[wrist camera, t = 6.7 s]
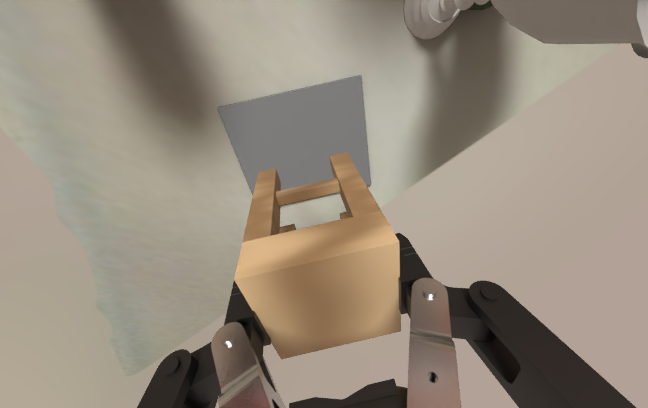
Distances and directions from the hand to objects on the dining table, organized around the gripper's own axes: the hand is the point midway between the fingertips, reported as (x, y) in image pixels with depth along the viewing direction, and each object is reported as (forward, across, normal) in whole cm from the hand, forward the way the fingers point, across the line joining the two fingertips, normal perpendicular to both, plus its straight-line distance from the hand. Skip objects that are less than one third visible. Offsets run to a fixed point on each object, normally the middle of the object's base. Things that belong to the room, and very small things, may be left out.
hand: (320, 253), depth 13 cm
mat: (+16, 0, 0) cm, 16 cm away
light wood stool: (+6, 0, 0) cm, 6 cm away
